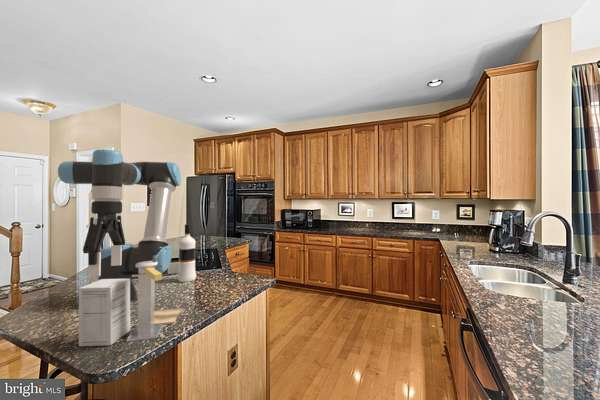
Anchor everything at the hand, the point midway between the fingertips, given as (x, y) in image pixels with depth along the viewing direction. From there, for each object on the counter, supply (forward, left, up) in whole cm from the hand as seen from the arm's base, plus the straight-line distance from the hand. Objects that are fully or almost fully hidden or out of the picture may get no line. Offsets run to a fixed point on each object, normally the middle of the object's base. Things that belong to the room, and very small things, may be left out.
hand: (106, 270), depth 78 cm
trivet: (-11, +12, -21) cm, 26 cm away
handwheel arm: (+4, +13, -1) cm, 14 cm away
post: (0, +11, -21) cm, 23 cm away
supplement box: (0, 0, -21) cm, 21 cm away
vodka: (-58, +13, -21) cm, 63 cm away
